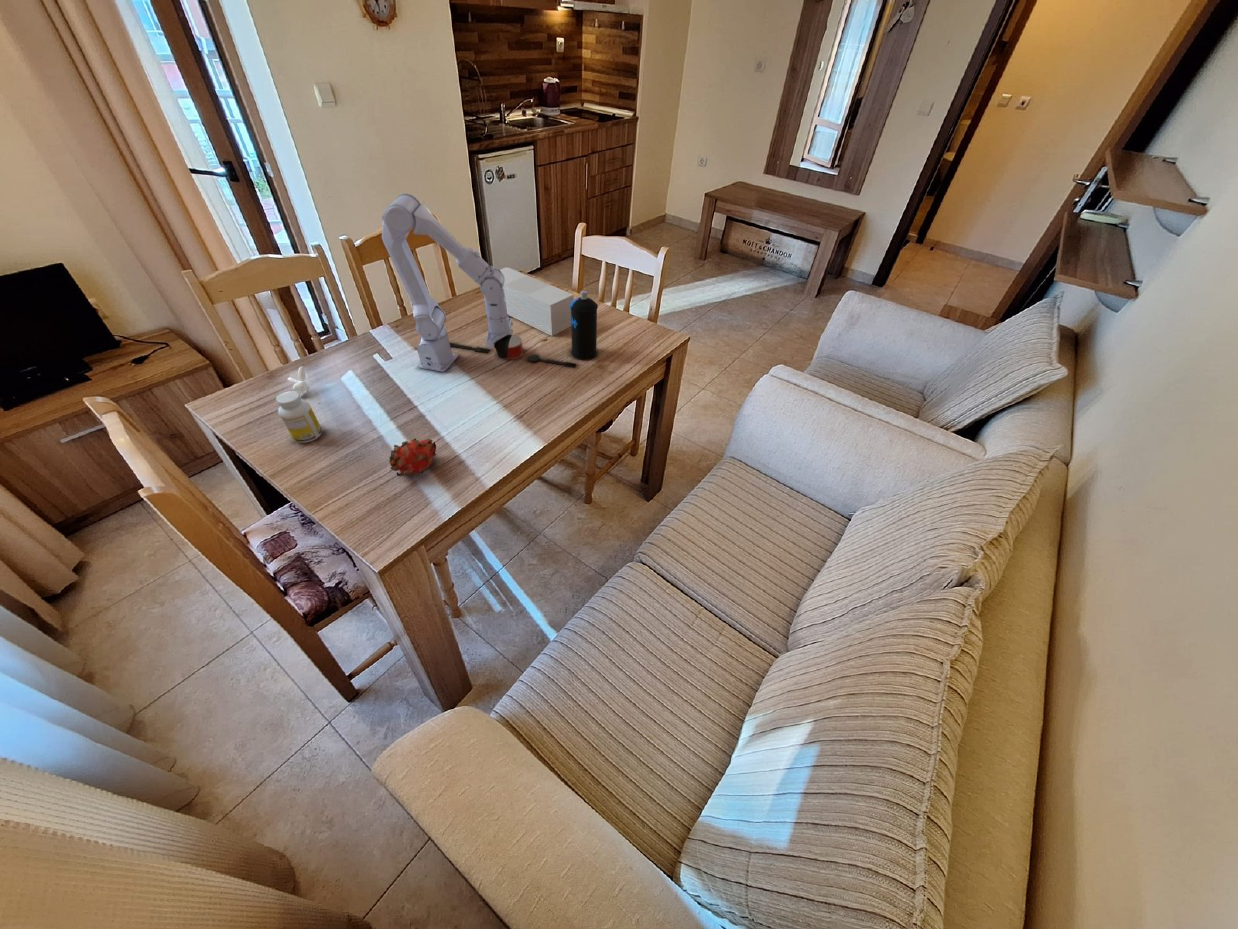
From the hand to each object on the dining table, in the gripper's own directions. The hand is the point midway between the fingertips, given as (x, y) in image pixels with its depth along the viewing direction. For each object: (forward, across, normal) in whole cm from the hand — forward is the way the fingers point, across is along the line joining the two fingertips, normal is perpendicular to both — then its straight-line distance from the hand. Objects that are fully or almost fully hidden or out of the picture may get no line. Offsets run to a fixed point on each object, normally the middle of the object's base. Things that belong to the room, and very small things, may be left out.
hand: (503, 357), depth 143 cm
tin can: (+2, +5, 0) cm, 5 cm away
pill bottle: (+2, -45, +32) cm, 55 cm away
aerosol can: (+2, +12, -22) cm, 25 cm away
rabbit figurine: (+2, -29, +46) cm, 54 cm away
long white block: (+2, +31, +3) cm, 31 cm away
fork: (+2, +4, +14) cm, 15 cm away
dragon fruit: (+2, -48, +1) cm, 48 cm away
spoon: (+2, +4, -14) cm, 15 cm away
